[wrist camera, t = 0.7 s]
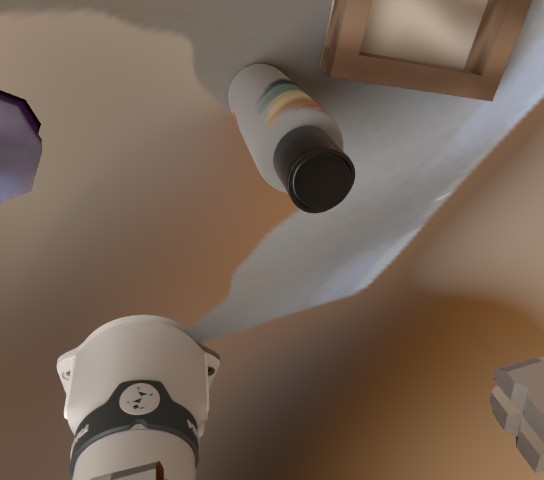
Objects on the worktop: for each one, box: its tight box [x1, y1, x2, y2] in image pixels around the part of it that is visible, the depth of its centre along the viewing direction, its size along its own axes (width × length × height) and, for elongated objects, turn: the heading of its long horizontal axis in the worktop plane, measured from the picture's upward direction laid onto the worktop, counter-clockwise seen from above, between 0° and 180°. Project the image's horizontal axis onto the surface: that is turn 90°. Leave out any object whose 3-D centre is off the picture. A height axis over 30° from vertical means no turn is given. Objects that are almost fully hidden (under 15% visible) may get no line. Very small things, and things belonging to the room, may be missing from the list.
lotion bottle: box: [228, 64, 355, 213], centre depth 33 cm, size 6×6×20 cm
